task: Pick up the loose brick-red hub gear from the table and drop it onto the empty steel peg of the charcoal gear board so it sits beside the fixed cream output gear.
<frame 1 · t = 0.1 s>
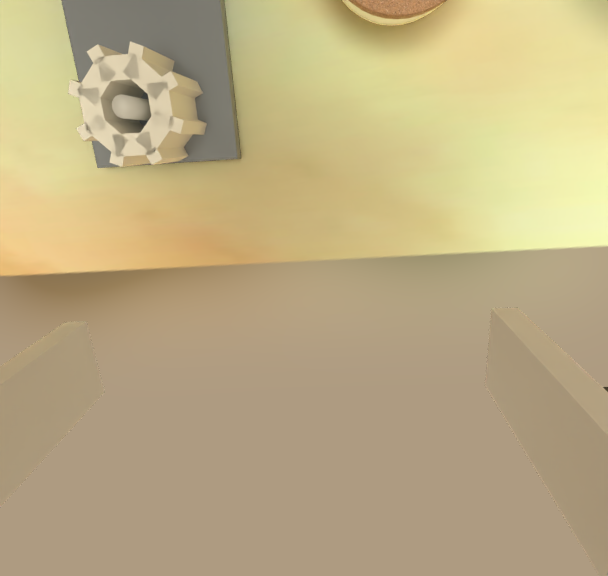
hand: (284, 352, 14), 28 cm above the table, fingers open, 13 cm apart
gear board: (154, 50, 37), on the table
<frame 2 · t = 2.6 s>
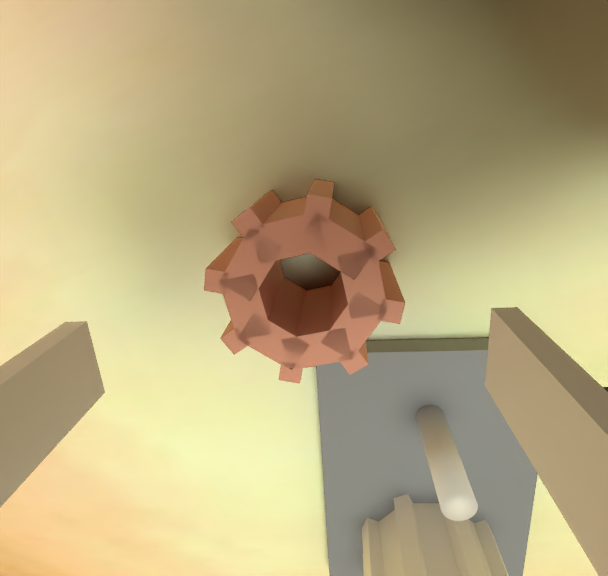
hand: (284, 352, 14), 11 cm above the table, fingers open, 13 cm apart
gear board: (422, 466, 28), on the table
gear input: (311, 258, 24), on the table
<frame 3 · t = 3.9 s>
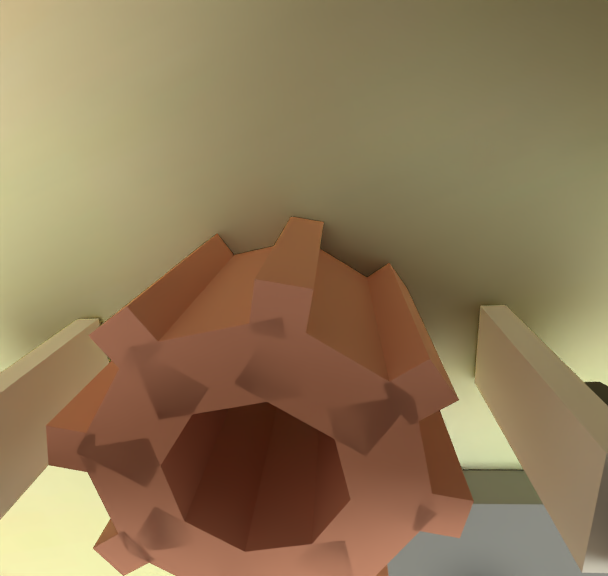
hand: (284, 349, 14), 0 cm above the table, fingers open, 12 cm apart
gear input: (287, 345, 14), on the table
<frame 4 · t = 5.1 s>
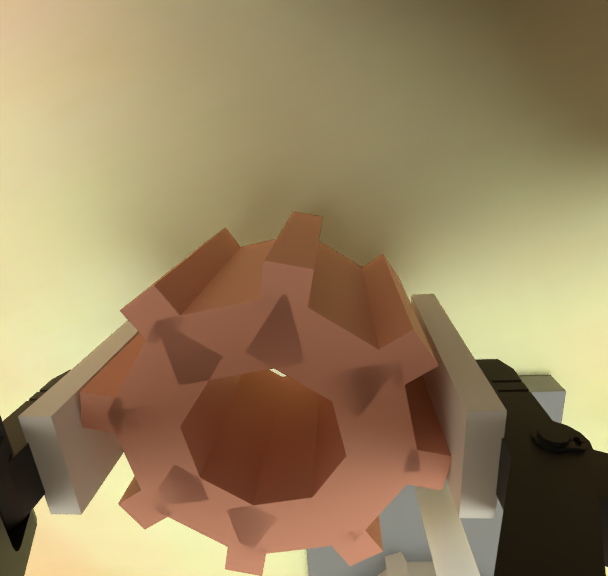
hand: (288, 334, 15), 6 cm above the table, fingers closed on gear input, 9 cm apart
gear board: (417, 517, 25), on the table
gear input: (289, 330, 15), point 6 cm above the table, touching gripper
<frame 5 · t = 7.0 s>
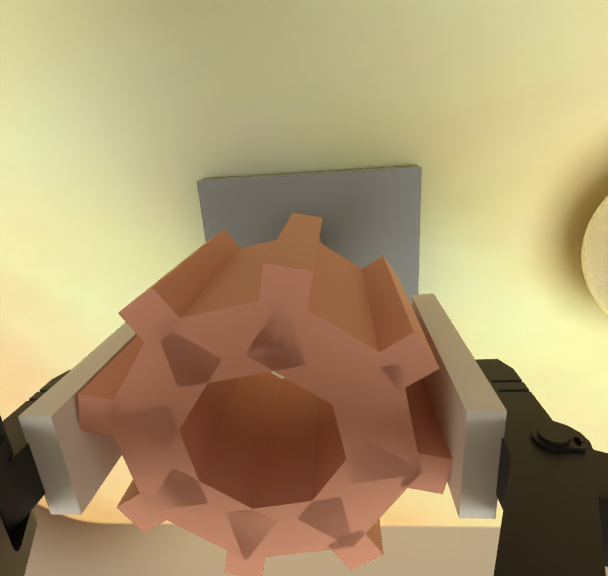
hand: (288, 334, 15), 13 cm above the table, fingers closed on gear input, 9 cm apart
gear board: (316, 312, 29), on the table
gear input: (289, 332, 15), point 13 cm above the table, touching gripper
when the fingers open (3 cm above the table, at t = 9.1 s): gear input drops 2 cm, resting on gear board.
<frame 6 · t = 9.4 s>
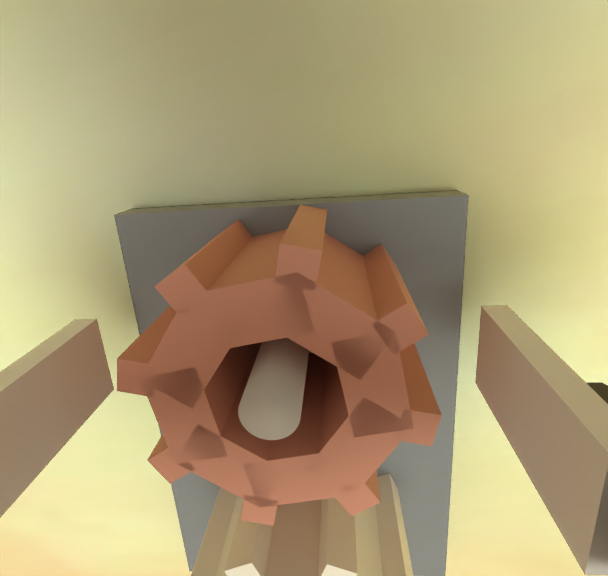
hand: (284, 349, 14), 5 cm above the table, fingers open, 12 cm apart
gear board: (304, 400, 20), on the table
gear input: (296, 314, 17), point 1 cm above the table, touching gear board
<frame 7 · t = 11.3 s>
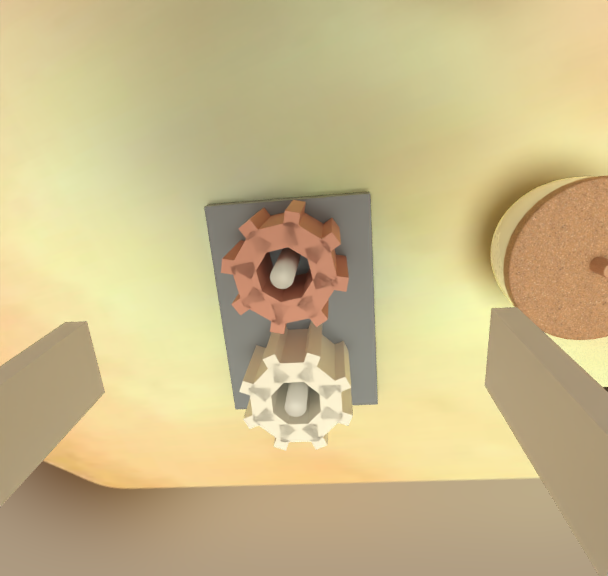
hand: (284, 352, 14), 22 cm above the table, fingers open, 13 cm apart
gear board: (297, 305, 37), on the table
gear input: (292, 254, 34), point 1 cm above the table, touching gear board
lidded jar: (538, 238, 34), on the table
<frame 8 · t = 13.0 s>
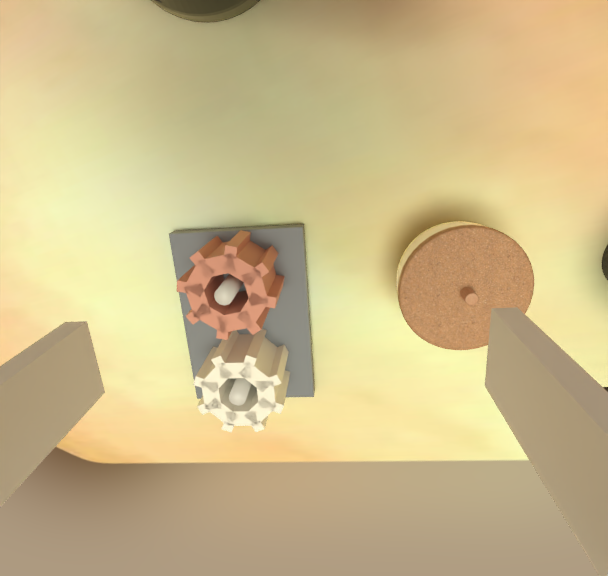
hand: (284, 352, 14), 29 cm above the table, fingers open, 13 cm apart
gear board: (248, 314, 45), on the table
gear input: (241, 273, 42), point 1 cm above the table, touching gear board
lidded jar: (442, 264, 42), on the table
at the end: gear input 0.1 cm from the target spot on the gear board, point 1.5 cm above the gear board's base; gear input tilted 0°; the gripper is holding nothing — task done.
